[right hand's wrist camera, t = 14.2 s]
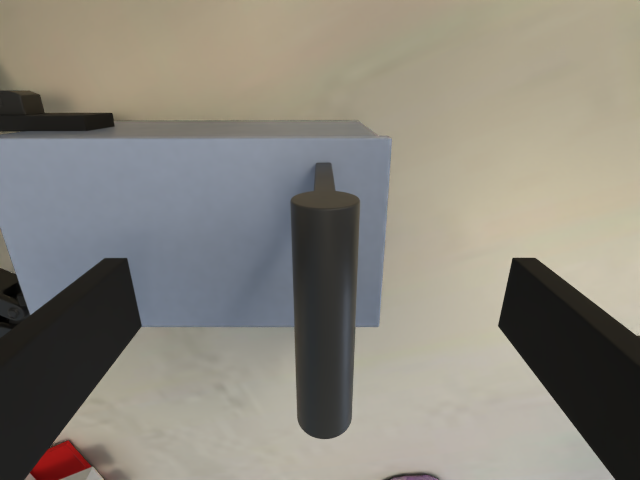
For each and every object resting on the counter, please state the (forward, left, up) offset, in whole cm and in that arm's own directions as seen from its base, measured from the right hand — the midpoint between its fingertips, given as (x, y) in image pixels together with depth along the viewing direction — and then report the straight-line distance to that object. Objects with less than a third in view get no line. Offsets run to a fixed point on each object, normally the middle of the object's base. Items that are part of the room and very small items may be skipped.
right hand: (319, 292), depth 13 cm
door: (+3, -5, -6) cm, 8 cm away
